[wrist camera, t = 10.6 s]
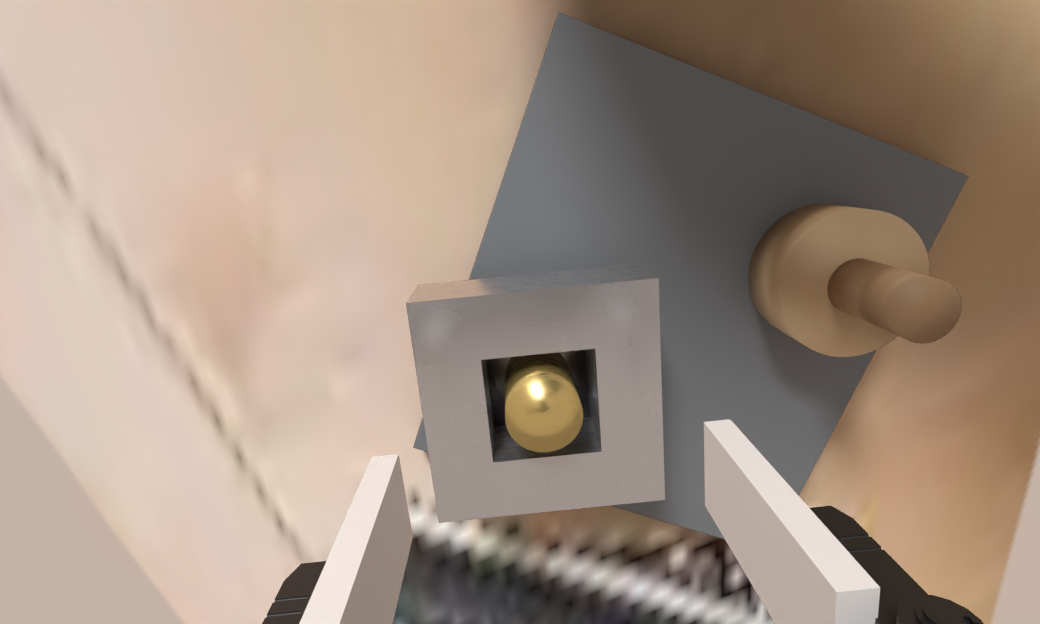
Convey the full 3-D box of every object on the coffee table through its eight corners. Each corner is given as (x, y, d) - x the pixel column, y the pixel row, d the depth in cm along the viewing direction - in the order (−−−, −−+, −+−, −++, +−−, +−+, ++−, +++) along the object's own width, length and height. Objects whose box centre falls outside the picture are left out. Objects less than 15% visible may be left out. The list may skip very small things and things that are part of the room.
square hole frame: (417, 285, 23) (406, 302, 20) (638, 263, 23) (658, 278, 20) (446, 481, 25) (438, 522, 22) (646, 461, 25) (665, 499, 22)
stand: (784, 184, 24) (893, 193, 18) (904, 230, 25) (1054, 255, 18) (726, 312, 26) (806, 365, 19) (842, 351, 26) (959, 417, 20)
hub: (486, 264, 25) (482, 296, 19) (633, 314, 26) (671, 359, 20) (438, 404, 26) (421, 472, 21) (578, 447, 27) (599, 524, 21)
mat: (555, 19, 23) (559, 12, 22) (947, 175, 26) (968, 176, 25) (416, 435, 28) (413, 447, 27) (758, 537, 30) (768, 552, 29)
